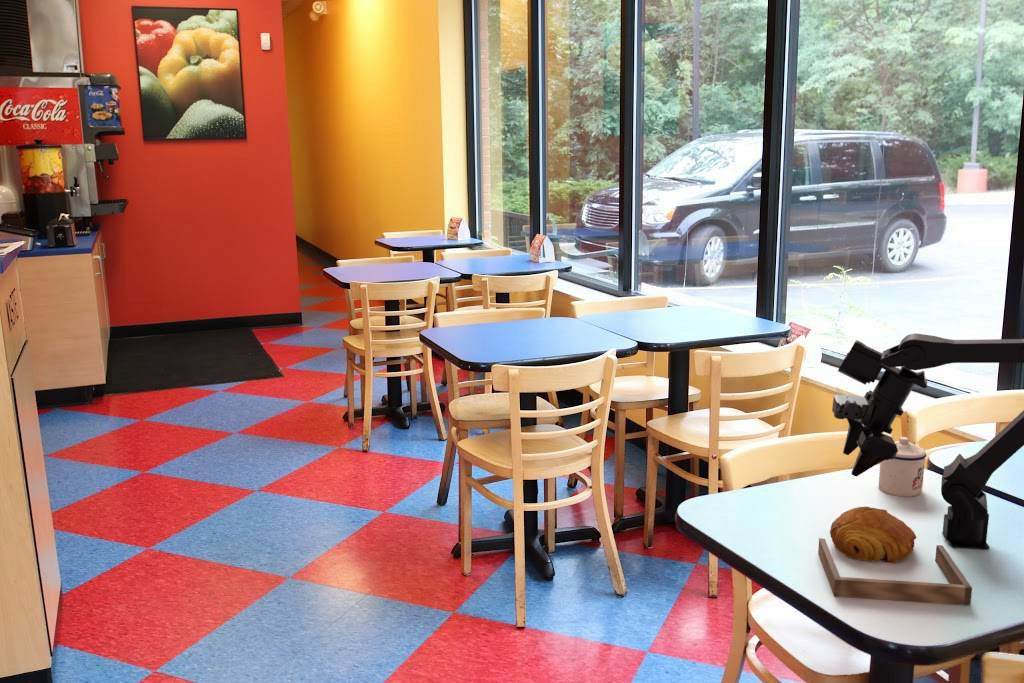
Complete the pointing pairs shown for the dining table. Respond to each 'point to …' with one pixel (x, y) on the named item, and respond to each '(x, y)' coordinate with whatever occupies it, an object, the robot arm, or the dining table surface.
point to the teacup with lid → (903, 470)
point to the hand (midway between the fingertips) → (849, 464)
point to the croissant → (872, 535)
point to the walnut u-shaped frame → (900, 583)
